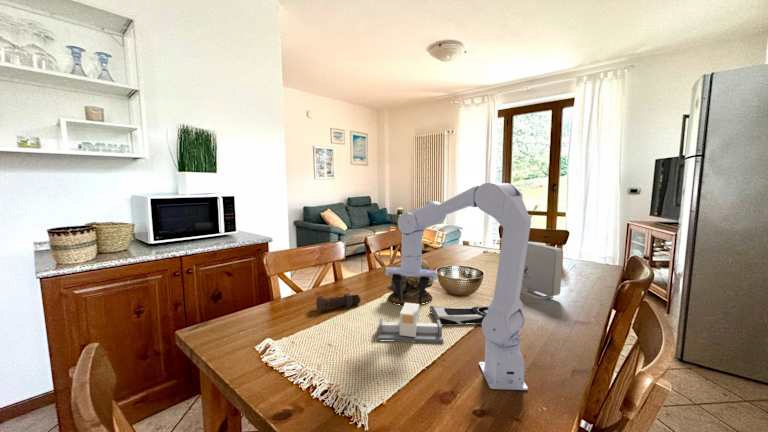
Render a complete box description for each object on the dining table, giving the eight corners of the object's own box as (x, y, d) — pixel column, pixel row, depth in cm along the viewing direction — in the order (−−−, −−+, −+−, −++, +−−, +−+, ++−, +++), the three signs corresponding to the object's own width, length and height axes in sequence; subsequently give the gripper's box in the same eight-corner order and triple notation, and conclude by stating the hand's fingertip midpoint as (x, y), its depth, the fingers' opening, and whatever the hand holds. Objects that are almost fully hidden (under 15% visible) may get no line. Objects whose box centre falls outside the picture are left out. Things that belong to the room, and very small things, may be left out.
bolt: (359, 309, 112) (318, 316, 104) (355, 298, 115) (315, 304, 108) (363, 298, 109) (321, 304, 101) (358, 288, 112) (318, 293, 105)
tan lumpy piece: (426, 292, 125) (428, 250, 123) (439, 303, 114) (441, 258, 112) (383, 295, 120) (384, 252, 118) (392, 308, 109) (394, 260, 107)
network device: (497, 282, 138) (499, 238, 136) (511, 280, 142) (514, 237, 140) (548, 303, 115) (552, 250, 113) (564, 299, 119) (568, 248, 116)
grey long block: (443, 343, 85) (443, 330, 85) (377, 341, 86) (378, 329, 85) (438, 327, 94) (438, 316, 94) (379, 326, 95) (379, 315, 94)
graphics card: (429, 305, 104) (501, 304, 106) (429, 315, 105) (501, 313, 107) (437, 318, 94) (516, 316, 96) (436, 329, 95) (515, 327, 97)
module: (415, 337, 85) (415, 315, 85) (399, 335, 86) (399, 313, 86) (419, 324, 93) (419, 304, 92) (404, 322, 94) (404, 302, 93)
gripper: (383, 256, 85) (382, 303, 87) (436, 260, 82) (434, 309, 83) (388, 250, 92) (388, 294, 94) (438, 254, 89) (436, 299, 90)
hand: (410, 301), depth 89 cm, fingers open, 5 cm apart
